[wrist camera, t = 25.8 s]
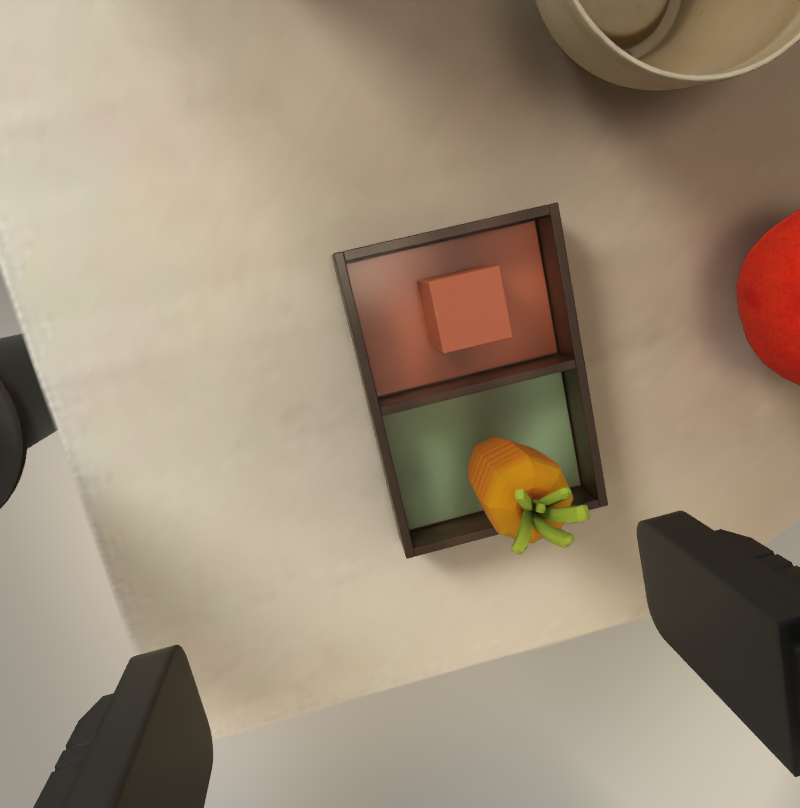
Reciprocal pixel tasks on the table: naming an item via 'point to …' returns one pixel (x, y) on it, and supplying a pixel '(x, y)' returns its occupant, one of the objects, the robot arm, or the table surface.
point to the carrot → (523, 493)
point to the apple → (773, 298)
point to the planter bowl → (671, 38)
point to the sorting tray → (469, 371)
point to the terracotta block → (465, 308)
